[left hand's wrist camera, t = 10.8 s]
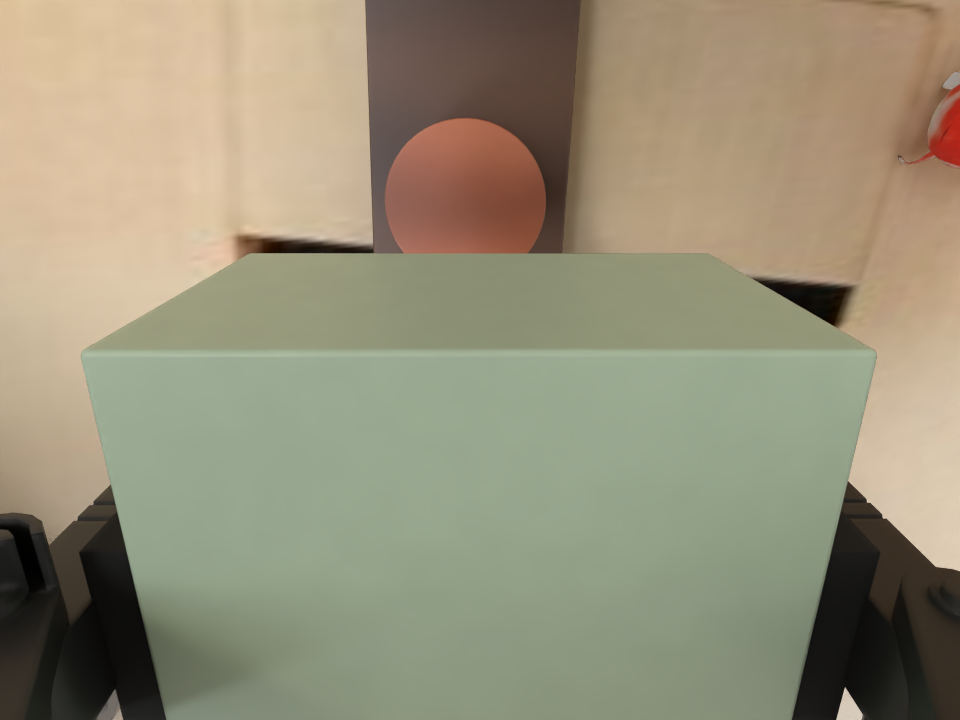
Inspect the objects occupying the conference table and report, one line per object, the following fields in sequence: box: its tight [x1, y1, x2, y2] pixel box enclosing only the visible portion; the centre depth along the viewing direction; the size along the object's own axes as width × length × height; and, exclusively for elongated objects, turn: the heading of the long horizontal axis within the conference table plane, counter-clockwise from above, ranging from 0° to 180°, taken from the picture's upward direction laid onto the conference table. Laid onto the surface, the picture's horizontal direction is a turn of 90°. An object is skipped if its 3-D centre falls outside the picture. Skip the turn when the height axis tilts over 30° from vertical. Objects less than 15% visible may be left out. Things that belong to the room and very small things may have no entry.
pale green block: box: [81, 254, 877, 720], centre depth 10 cm, size 8×8×5 cm
